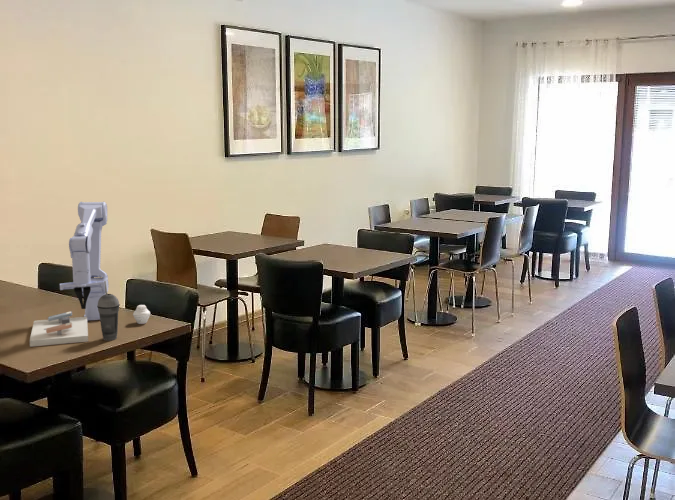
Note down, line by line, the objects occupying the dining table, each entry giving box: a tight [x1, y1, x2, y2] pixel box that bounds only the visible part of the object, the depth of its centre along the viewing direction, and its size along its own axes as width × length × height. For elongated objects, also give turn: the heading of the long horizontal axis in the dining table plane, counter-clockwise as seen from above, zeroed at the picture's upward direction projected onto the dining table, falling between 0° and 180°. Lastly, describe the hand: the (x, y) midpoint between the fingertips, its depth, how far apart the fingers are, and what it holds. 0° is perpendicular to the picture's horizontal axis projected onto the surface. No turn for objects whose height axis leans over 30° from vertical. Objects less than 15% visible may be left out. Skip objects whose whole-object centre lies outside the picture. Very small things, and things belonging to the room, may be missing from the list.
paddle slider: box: [62, 316, 71, 324], centre depth 240 cm, size 2×3×3 cm
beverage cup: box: [97, 281, 120, 342], centre depth 233 cm, size 7×7×20 cm
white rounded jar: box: [132, 304, 151, 325], centre depth 254 cm, size 6×6×7 cm
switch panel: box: [29, 316, 89, 348], centre depth 240 cm, size 18×26×3 cm
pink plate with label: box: [46, 322, 72, 333], centre depth 232 cm, size 8×3×1 cm, turn 110°
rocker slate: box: [47, 310, 73, 321], centre depth 247 cm, size 8×3×1 cm, turn 110°
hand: (83, 308), depth 242 cm, fingers closed
